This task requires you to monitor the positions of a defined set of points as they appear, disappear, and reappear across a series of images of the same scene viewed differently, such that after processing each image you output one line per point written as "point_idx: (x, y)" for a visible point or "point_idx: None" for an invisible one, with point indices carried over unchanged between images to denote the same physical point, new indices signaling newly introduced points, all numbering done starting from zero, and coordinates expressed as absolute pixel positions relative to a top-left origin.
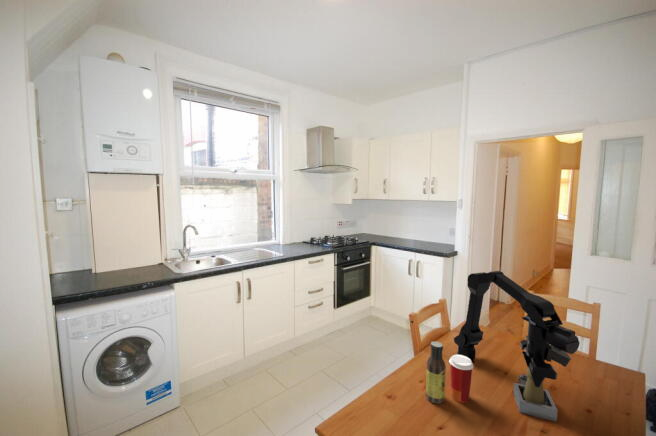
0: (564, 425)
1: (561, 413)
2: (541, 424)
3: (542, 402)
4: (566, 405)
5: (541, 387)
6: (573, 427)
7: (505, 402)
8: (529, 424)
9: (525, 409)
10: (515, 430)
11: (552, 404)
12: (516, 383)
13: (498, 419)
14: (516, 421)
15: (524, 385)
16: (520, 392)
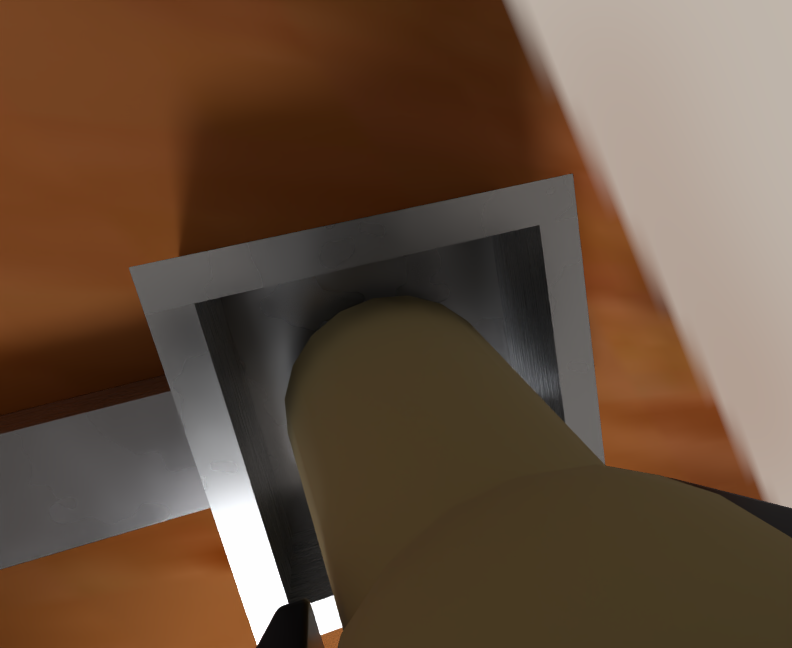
0: (511, 125)
1: (326, 128)
2: (600, 307)
3: (473, 328)
4: (108, 49)
5: (559, 424)
6: (495, 46)
7: None
8: (644, 386)
9: None
10: (747, 459)
11: (483, 222)
12: (260, 630)
13: None
14: (656, 467)
15: (240, 548)
16: (284, 519)
